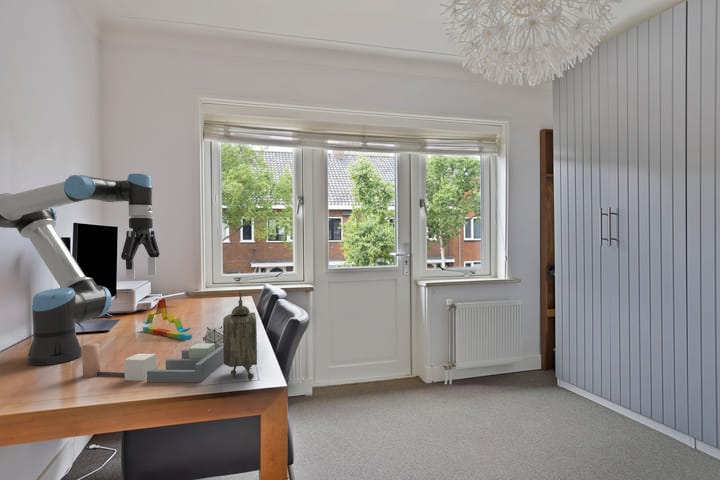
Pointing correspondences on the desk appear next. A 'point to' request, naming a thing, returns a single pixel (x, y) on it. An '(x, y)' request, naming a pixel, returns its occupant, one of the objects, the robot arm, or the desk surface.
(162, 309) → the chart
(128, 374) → the corded block
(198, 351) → the sage block
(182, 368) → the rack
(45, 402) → the desk surface
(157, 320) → the desk surface
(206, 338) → the grey spiky lattice polyhedron
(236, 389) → the desk surface
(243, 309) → the tabletop clock
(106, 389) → the desk surface
